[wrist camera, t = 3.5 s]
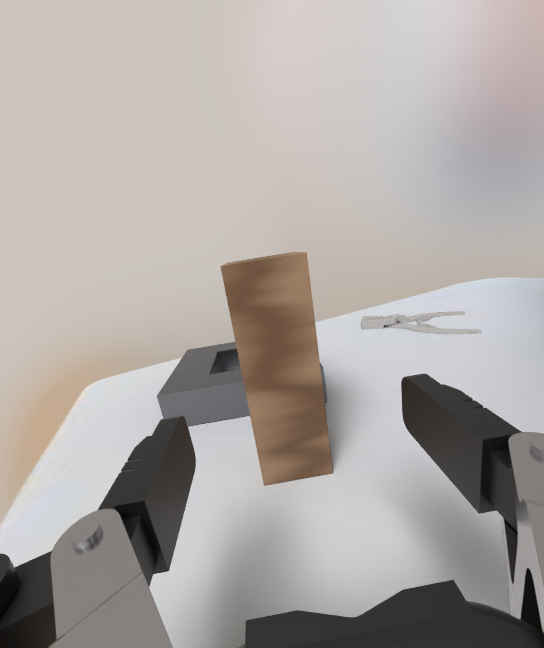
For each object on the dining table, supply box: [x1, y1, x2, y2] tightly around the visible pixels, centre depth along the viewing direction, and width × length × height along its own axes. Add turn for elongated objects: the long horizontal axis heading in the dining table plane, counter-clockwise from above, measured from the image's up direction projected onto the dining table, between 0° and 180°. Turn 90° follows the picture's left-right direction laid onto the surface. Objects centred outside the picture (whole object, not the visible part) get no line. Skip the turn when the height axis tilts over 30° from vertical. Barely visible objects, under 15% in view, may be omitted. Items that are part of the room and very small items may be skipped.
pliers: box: [361, 312, 481, 334], centre depth 43 cm, size 10×2×15 cm
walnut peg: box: [221, 252, 333, 485], centre depth 18 cm, size 4×4×14 cm
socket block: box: [157, 342, 327, 426], centre depth 31 cm, size 15×12×4 cm
